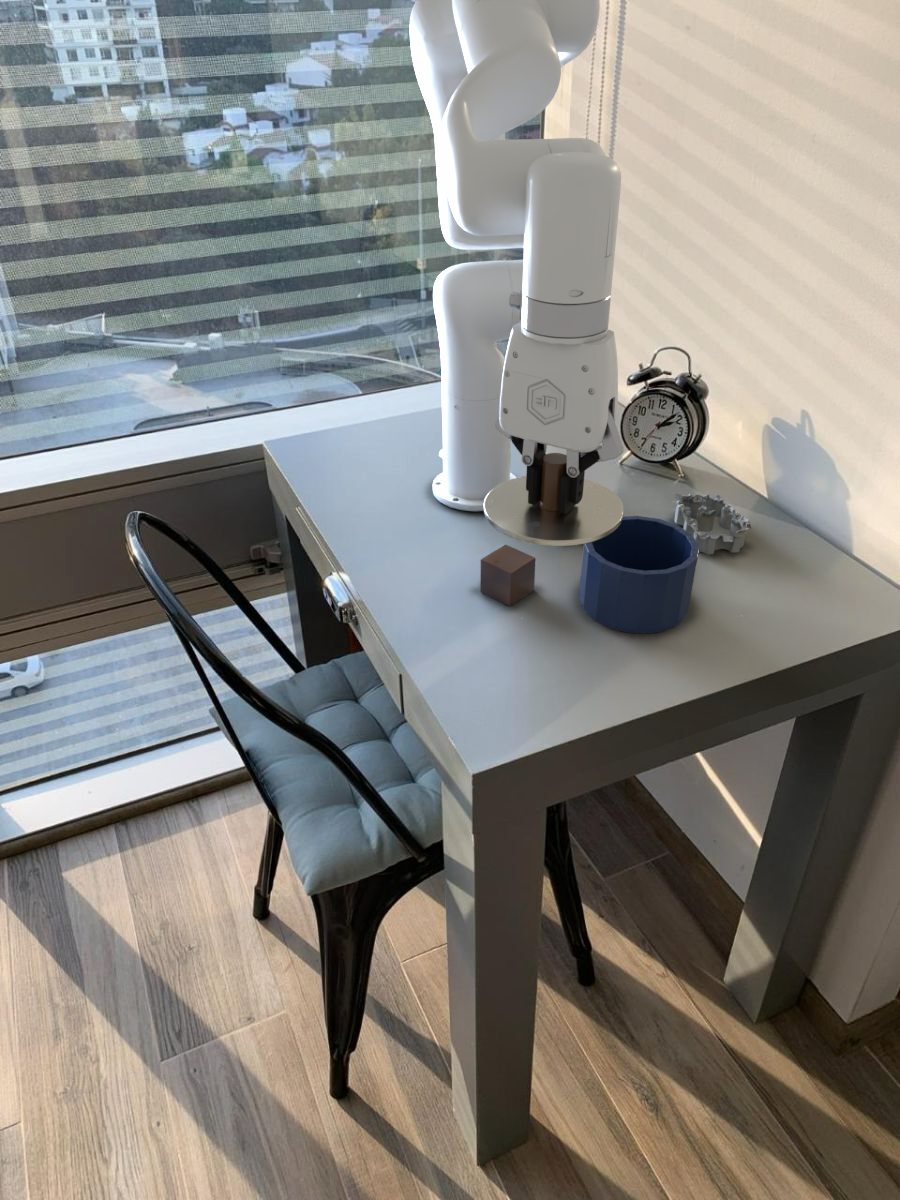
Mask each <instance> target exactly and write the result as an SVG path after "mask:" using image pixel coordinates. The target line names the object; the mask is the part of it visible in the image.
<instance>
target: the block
mask: <svg viewBox="0 0 900 1200" xmlns="http://www.w3.org/2000/svg"><path fill="white" fill-rule="evenodd" d="M536 559H537V558H536V556H532V555H530V554H528V553H526V552H523V551H521V550H519V549H517V548H515V547H512V546H510V545H508V544H504V545H503V546H501V547H498V548H497V549H495V550H494V551H492V552H490V553H489V554H487V555H486V556H484V557H483V558H481V559H480V581H479V583H480V587H479V588H480V593H482V594H484V595H486V596H487V597H490V598H492V599H494V600H496V601H497V602H500V603H502V604H503V605H506V606H508V607H511V606H512V605H514V604H516V603H517V602H519V601H520V600H521V599H523V598H524V597H526V596H527V595H529V594H530V593H532V592H533V591H534V590H535V579H536V577H535V576H536Z"/></svg>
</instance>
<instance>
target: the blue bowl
mask: <svg viewBox="0 0 900 1200" xmlns="http://www.w3.org/2000/svg"><path fill="white" fill-rule="evenodd" d="M699 553H700V551H699V545H698V544H697V542H696V540H695V539H694V537H693V536H692V535H691V534H690V533H688V532H687V531H685V530H684V529H683V528H682V527H681V525H679V524H676V523H672V522H670V521H667V520H664V519H661V518H656V517H648V516H642V515H623V519H622V521H621V524H620V525H619V526H618V528H617V529H616V530H615V531H613V532H612V533H611V534H609V535H607V536H605V537H603V538H601V539H599V540H596V541H593V542H589V543H585V544H583V548H582V559H581V570H580V571H581V572H580V582H579V595H578V596H579V601H580V605H581V607H582V610H583V611H584V612H585V613H586V614H587V616H589V618H591V619H592V620H594V621H595V622H597V623H598V624H600V625H602V626H604V627H607V628H609V629H612V630H615V631H618V632H623V633H628V634H629V633H630V634H638V635H639V634H640V635H641V634H643V635H644V634H656V633H661V632H664V631H668V630H670V629H673V628H674V627H676V626H678V625H680V624H681V623H682V622H683V621H684V620H685V619H686V618H687V615H688V613H689V609H690V603H691V597H692V592H693V585H694V581H695V574H696V570H697V565H698V564H697V563H698V557H699Z"/></svg>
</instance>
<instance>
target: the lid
mask: <svg viewBox="0 0 900 1200" xmlns="http://www.w3.org/2000/svg"><path fill="white" fill-rule="evenodd" d="M566 467H567V454H565V453H561V452H550V453H546V455H544V456H543V458H542V475H541V494H540V501H539V502H538V503H537V504H534V505H532V504H529V503H528V491H527V490H526V475H524V476H520V477H517V478H515V479H512V480H509V481H506V482H504V483H502V484H500V485H498V486H497V487H495V488H494V489H492V490H491V491H490V492H489V494H488V495H487V496H486V498H485V501H484V511H483V514H484V517H485V519H486V521H487V522H488V524H489V525H491V527H493V528H494V529H495V530H496V531H498V532H499V533H500V534H503V535H505V536H507V537H509V538H511V539H514V540H517V541H520V542H524V543H528V544H532V545H537V546H538V545H539V546H546V547H548V546H550V547H571V546H578V545H579V546H580V545H584V544H585V543H589V542H593V541H596V540H599V539H601V538H603V537H605V536H607V535H609V534H611V533H612V532H613V531H615V530H616V529H617V528H618V526H619V525H620V524H621V521H622V519H623V517H624V511H625V510H624V505H623V502H622V500H621V499H620V498H619V496H618V495H617V494H616V493H615V492H613V491H612V490H611V489H610V488H608V487H606V486H604V485H603V484H600V483H598V482H595V481H593V480H590V479H586V478H584V486H583V496H582V499H581V501H580V502H579V503H578V504H576V505H575V506H574V507H573V508H571V509H570V510H569V511H568V512H567V513H566V514H564V513H560V511H559V494H560V479H561V476H562V475H563V474H564V473H565V472H566Z"/></svg>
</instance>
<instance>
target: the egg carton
mask: <svg viewBox="0 0 900 1200" xmlns="http://www.w3.org/2000/svg"><path fill="white" fill-rule="evenodd" d="M674 496H675V502H676V507H675V508H676V509H675V512H674V521H673V522H674V524H676V525H679V526H683V528H682V529H684V530H685V531H687V532H688V533H690V534H691V535H692V536H693V537H694V539H695V540H696V542H697V544H698V545H699V553H700V552H701V553H703V554H704V555H705V554H706V555H714V554H715V551H717V550H725V551H729V552H730V553H731V554H735V553H740V549H741V548H743V547H744V545H745V541H746V538H747V531H748V530H752V524H751V522H750V520H749V519H748V518H747V517H746V516H745V515H743V516H742V515H741V513H739V512H737V510H736V509H735V507H733V506H731V505H730V504H728V503H727V502H725V501H724V498H723V497H722V496H721V495H719V494H718V495H716V496H715V497H710V494H709V493H706V494H704V495H701V494H695V495H694V494H691V493H689V494H688V495H685V494H680V493H675V494H674Z"/></svg>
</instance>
